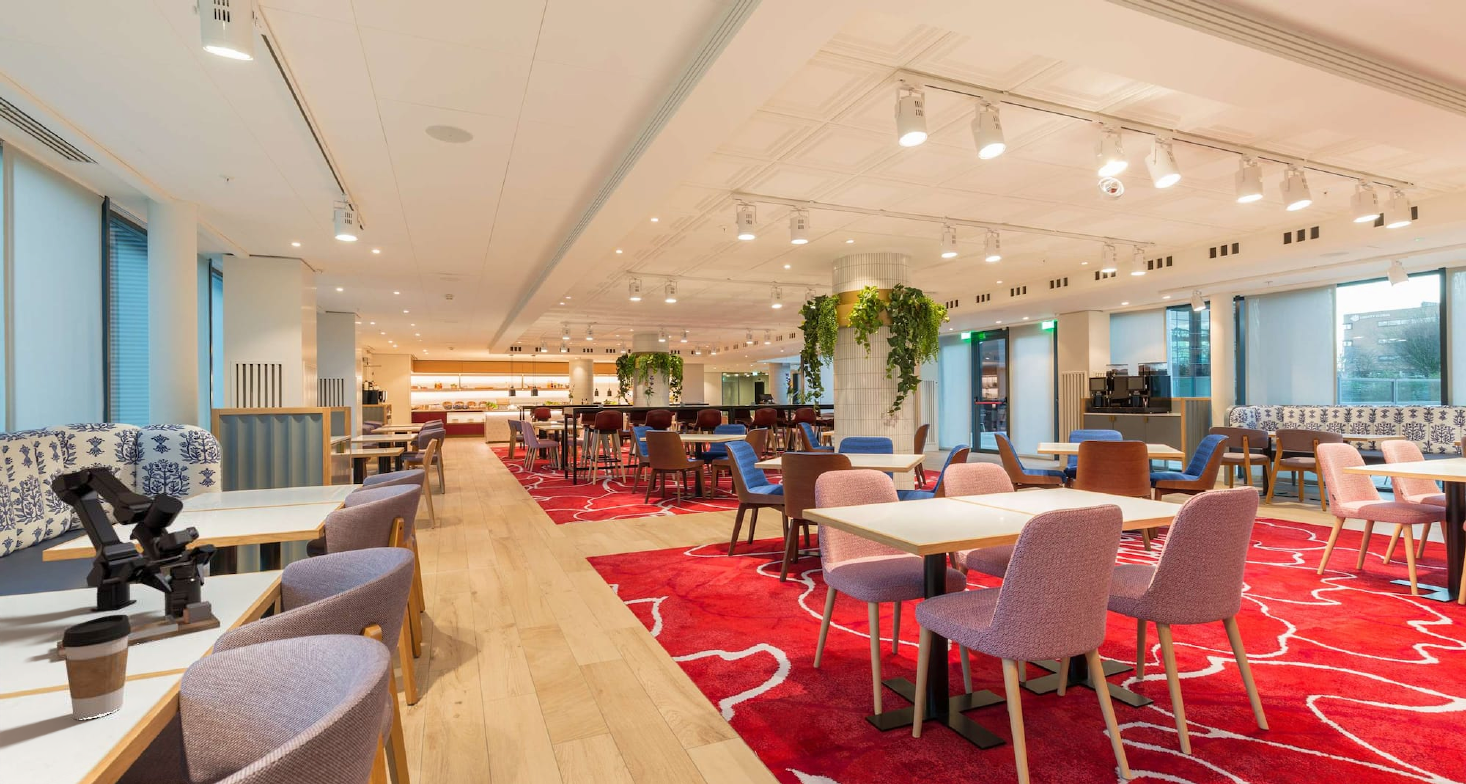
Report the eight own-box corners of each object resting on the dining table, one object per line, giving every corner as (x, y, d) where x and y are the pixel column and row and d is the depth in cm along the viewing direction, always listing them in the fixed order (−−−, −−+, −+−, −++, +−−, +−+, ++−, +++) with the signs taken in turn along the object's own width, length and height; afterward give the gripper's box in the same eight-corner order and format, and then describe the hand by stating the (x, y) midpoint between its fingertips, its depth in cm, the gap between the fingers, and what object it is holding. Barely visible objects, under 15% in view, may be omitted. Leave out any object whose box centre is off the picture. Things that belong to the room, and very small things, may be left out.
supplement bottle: (208, 611, 165) (208, 562, 165) (183, 621, 158) (182, 570, 158) (183, 611, 166) (182, 562, 166) (156, 620, 159) (156, 569, 159)
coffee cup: (144, 704, 114) (143, 616, 114) (82, 728, 106) (81, 633, 106) (112, 698, 117) (111, 612, 117) (50, 720, 109) (49, 628, 109)
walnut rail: (210, 616, 161) (210, 597, 161) (220, 626, 154) (219, 606, 154) (57, 647, 142) (56, 625, 142) (59, 661, 135) (59, 637, 135)
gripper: (125, 525, 155) (158, 577, 151) (211, 512, 172) (242, 557, 169) (104, 558, 157) (135, 609, 153) (191, 541, 175) (221, 586, 171)
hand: (186, 589), depth 162 cm, fingers closed on supplement bottle, 7 cm apart
